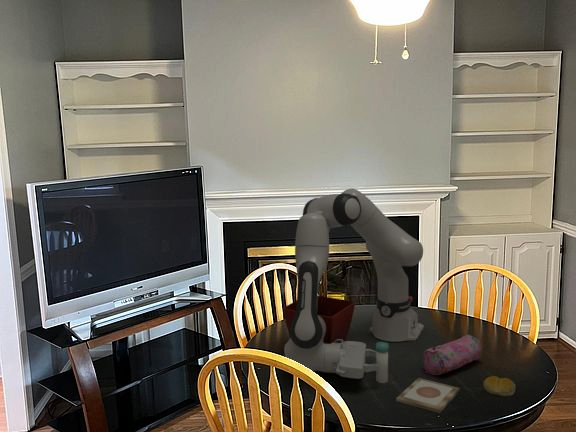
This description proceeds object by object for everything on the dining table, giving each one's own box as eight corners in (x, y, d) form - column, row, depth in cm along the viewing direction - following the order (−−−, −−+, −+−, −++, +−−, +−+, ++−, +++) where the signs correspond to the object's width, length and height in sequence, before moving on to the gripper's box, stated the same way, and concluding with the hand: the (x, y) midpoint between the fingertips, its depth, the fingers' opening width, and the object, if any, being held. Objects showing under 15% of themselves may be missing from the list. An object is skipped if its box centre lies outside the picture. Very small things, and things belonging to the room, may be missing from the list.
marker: (379, 377, 191) (379, 340, 189) (390, 379, 189) (390, 343, 187) (373, 381, 188) (374, 344, 186) (384, 384, 186) (385, 347, 184)
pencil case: (440, 381, 188) (441, 353, 187) (418, 371, 196) (419, 344, 194) (484, 363, 200) (485, 337, 199) (461, 355, 208) (462, 329, 206)
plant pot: (356, 346, 217) (356, 301, 214) (332, 365, 200) (332, 317, 198) (309, 337, 226) (308, 293, 223) (282, 355, 210) (281, 308, 207)
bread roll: (486, 382, 187) (487, 370, 186) (517, 388, 182) (517, 376, 182) (479, 392, 180) (480, 380, 180) (511, 400, 176) (511, 387, 175)
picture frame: (418, 380, 188) (418, 376, 188) (459, 391, 181) (459, 387, 181) (396, 401, 175) (396, 397, 175) (439, 413, 168) (439, 409, 168)
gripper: (331, 362, 180) (379, 365, 177) (338, 337, 200) (380, 339, 197) (331, 382, 181) (378, 385, 178) (338, 355, 201) (380, 357, 198)
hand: (379, 360), depth 188 cm, fingers open, 8 cm apart
